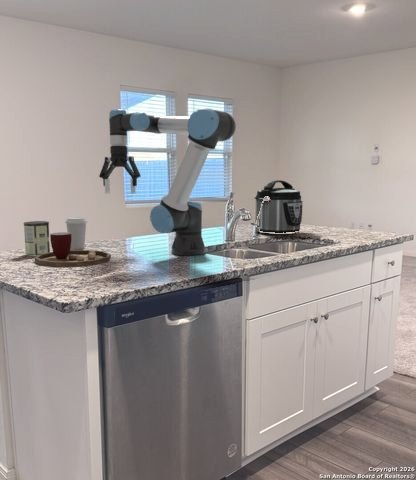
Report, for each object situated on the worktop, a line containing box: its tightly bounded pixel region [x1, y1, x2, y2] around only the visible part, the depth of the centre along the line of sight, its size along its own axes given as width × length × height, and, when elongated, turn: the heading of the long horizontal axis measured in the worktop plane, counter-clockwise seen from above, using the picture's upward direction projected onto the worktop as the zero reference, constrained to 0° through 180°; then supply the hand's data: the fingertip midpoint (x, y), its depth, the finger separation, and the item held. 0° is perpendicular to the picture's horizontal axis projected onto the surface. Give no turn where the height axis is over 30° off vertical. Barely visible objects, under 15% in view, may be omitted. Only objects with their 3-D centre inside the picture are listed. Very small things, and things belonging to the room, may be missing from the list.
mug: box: [49, 232, 72, 259], centre depth 191 cm, size 10×8×10 cm
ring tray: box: [34, 249, 112, 268], centre depth 188 cm, size 28×28×3 cm
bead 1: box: [76, 255, 84, 262], centre depth 182 cm, size 3×3×3 cm
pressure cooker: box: [254, 179, 303, 233], centre depth 286 cm, size 30×28×32 cm
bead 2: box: [88, 253, 95, 260], centre depth 186 cm, size 3×3×3 cm
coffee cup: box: [65, 216, 88, 250], centre depth 217 cm, size 10×10×15 cm
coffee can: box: [23, 220, 51, 257], centre depth 206 cm, size 10×10×14 cm
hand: (120, 193), depth 215 cm, fingers open, 13 cm apart
